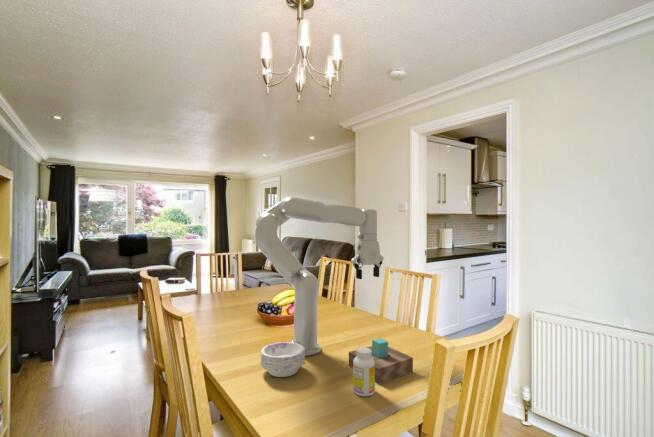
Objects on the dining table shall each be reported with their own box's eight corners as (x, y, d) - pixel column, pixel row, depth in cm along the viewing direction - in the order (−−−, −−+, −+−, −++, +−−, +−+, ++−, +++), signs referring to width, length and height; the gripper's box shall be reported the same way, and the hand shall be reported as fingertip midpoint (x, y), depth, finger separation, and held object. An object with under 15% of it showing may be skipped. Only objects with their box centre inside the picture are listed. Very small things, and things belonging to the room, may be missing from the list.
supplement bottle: (372, 386, 106) (373, 346, 106) (376, 397, 99) (376, 354, 99) (351, 386, 105) (352, 346, 105) (354, 397, 99) (354, 354, 99)
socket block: (378, 384, 107) (378, 368, 107) (348, 365, 120) (348, 352, 120) (412, 372, 116) (412, 357, 116) (381, 356, 129) (381, 343, 129)
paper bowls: (283, 358, 126) (283, 337, 126) (313, 370, 117) (313, 347, 117) (251, 372, 115) (251, 349, 115) (281, 386, 105) (281, 361, 105)
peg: (378, 372, 115) (379, 343, 115) (372, 367, 119) (372, 339, 119) (387, 369, 117) (388, 341, 117) (380, 365, 121) (381, 338, 121)
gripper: (357, 238, 134) (357, 281, 134) (388, 237, 144) (388, 277, 144) (346, 237, 141) (346, 278, 141) (377, 237, 150) (376, 274, 150)
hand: (367, 277), depth 142 cm, fingers open, 9 cm apart
